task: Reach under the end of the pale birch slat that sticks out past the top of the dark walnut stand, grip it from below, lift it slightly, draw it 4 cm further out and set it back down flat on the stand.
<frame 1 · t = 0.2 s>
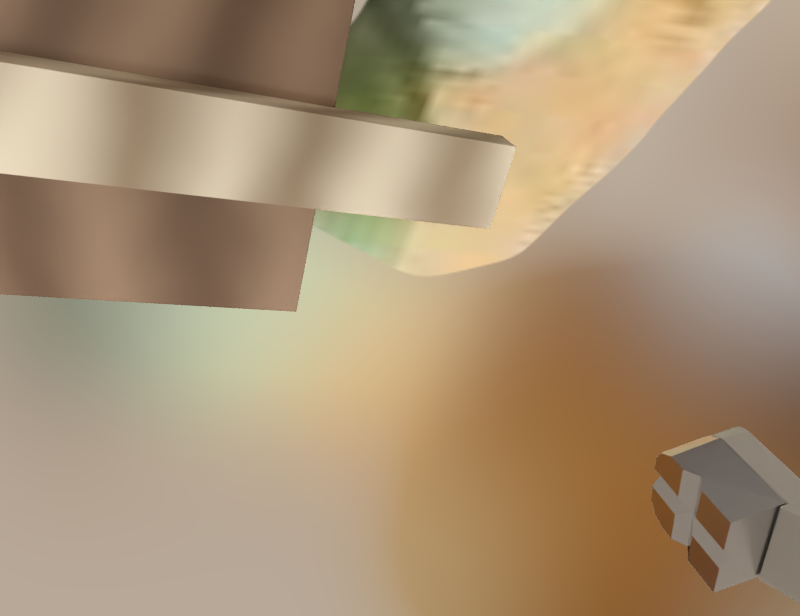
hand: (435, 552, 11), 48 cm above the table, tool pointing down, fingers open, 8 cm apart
birch slat: (155, 128, 28), point 26 cm above the table, touching walnut stand
walnut stand: (95, 8, 47), on the table
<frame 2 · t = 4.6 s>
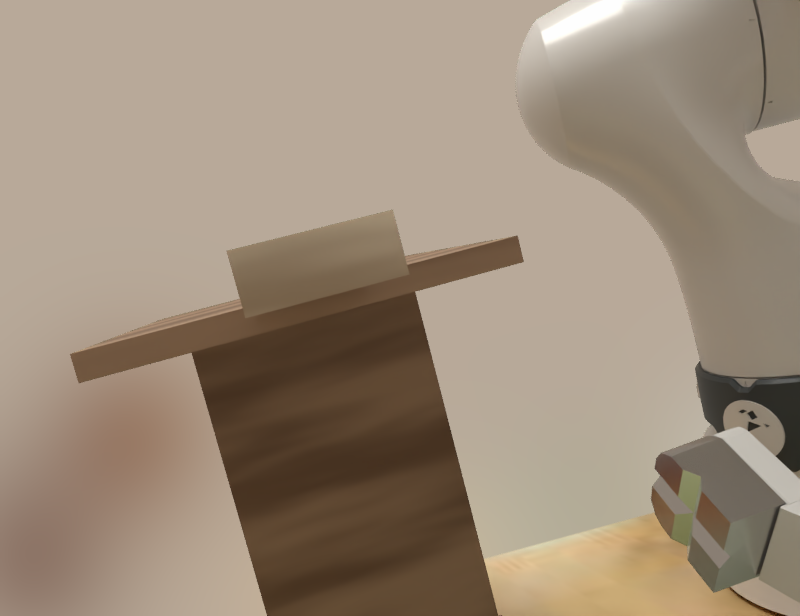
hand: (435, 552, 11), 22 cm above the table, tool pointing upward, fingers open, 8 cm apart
birch slat: (296, 289, 31), point 26 cm above the table, touching walnut stand
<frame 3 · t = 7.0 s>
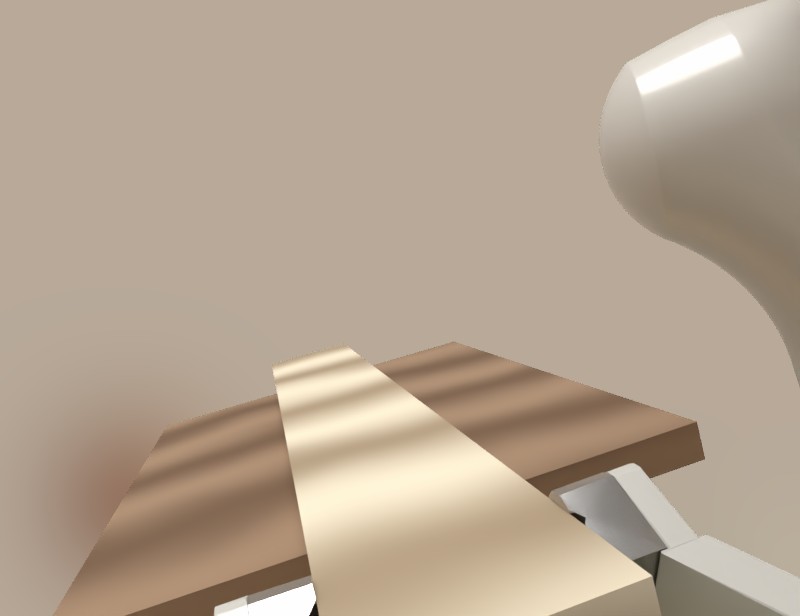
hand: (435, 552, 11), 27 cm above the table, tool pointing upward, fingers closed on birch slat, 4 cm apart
birch slat: (354, 449, 23), point 26 cm above the table, touching gripper, walnut stand
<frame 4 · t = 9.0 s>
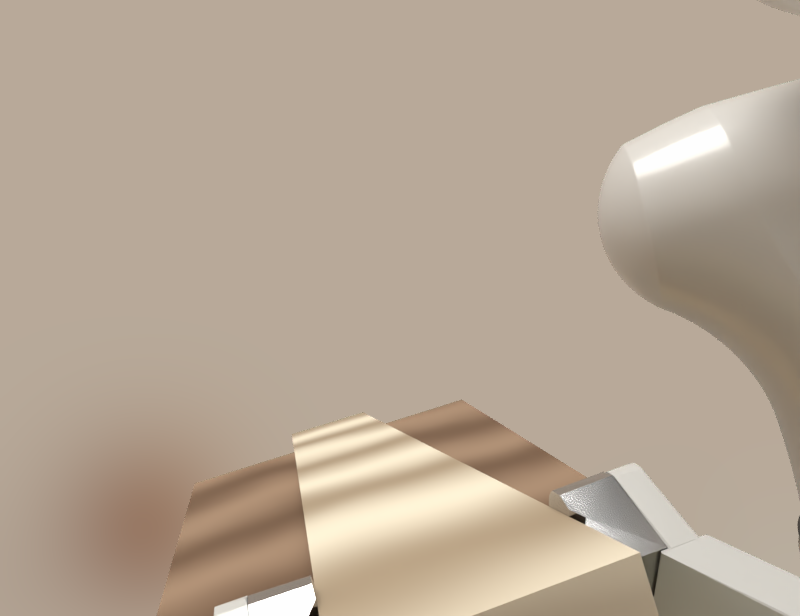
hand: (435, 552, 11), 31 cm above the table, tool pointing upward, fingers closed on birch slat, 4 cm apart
birch slat: (370, 503, 23), point 28 cm above the table, tilted 8°, touching gripper
when the fingers open (27 cm above the table, at t = 11.0 s): birch slat stays where it is, resting on walnut stand.
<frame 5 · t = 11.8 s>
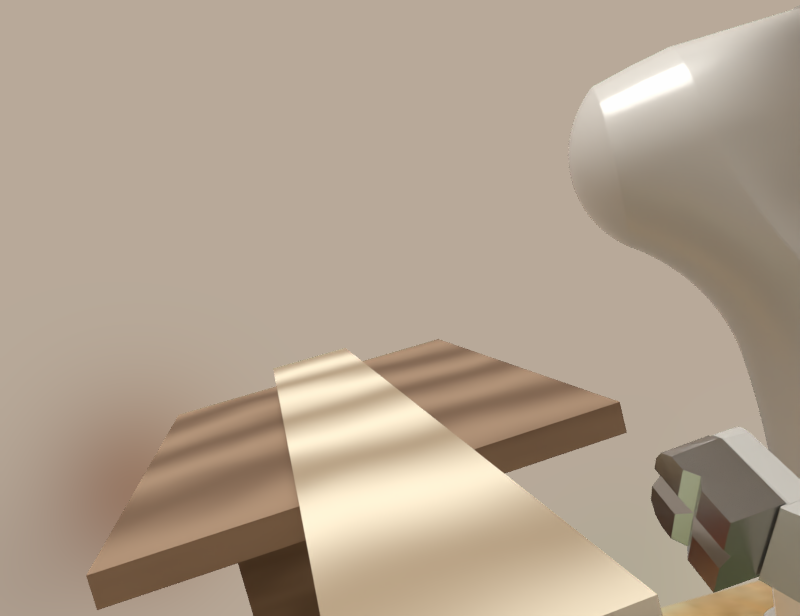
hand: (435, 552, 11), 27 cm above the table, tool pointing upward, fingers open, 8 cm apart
birch slat: (356, 456, 23), point 26 cm above the table, touching walnut stand
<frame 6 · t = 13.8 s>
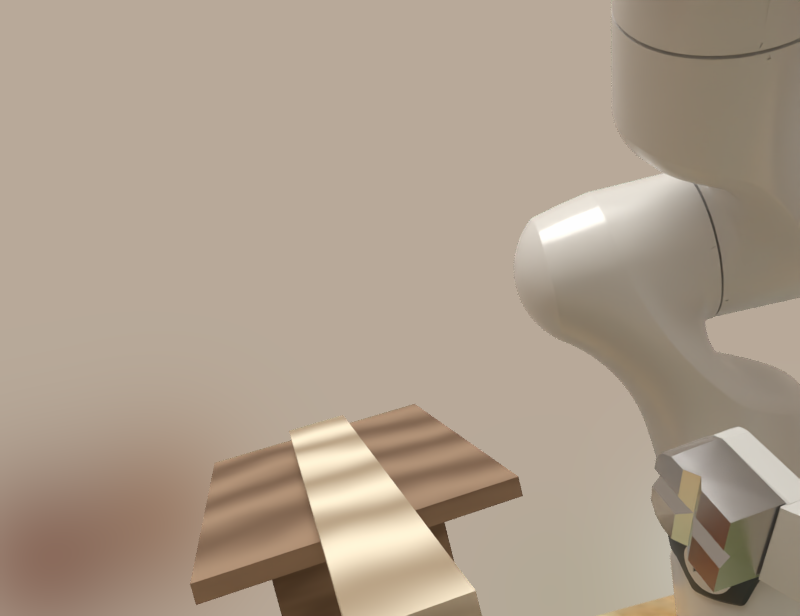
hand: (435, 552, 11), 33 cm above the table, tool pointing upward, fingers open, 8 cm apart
birch slat: (352, 508, 35), point 26 cm above the table, touching walnut stand
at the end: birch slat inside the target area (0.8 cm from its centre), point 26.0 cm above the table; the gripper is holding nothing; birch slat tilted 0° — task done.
